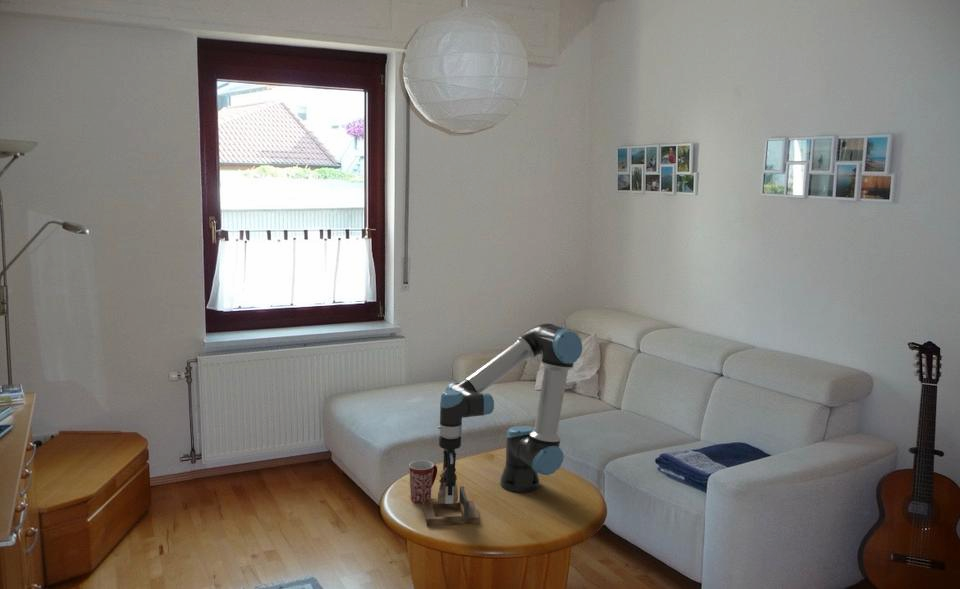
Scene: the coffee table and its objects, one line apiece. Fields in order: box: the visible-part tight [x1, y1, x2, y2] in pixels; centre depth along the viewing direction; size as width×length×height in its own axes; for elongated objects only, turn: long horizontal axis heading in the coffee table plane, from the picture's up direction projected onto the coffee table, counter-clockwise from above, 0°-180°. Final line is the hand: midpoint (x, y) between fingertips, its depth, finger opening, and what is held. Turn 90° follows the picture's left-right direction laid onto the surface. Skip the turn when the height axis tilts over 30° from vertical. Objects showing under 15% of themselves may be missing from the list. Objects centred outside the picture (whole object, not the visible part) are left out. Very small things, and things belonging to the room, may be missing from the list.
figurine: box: [437, 468, 459, 504], centre depth 277 cm, size 7×7×12 cm
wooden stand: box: [422, 486, 480, 527], centre depth 278 cm, size 18×14×8 cm
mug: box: [408, 459, 438, 505], centre depth 292 cm, size 13×9×14 cm
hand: (447, 498), depth 278 cm, fingers closed on figurine, 7 cm apart
